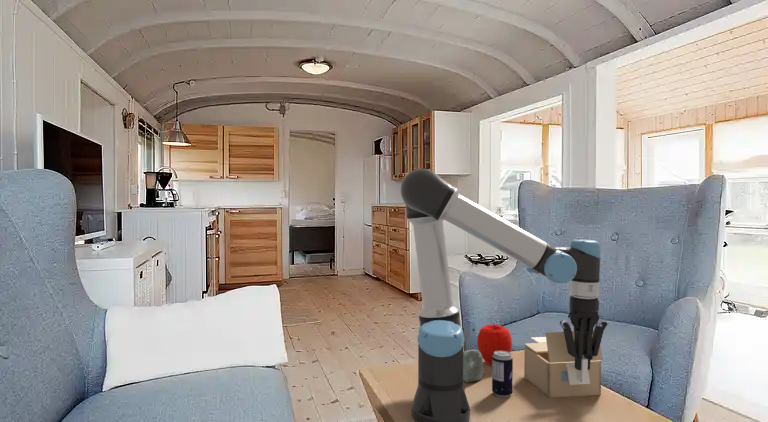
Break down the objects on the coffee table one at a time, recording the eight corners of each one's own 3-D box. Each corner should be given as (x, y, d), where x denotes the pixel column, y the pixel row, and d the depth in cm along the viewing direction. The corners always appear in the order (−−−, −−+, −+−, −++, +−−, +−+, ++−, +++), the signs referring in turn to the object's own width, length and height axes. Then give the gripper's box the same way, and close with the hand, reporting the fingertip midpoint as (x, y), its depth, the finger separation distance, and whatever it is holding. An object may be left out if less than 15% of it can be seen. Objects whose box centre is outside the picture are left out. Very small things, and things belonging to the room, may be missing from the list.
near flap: (552, 385, 134) (553, 385, 134) (545, 332, 139) (545, 332, 138) (605, 382, 137) (606, 382, 136) (596, 330, 141) (597, 330, 141)
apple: (518, 368, 161) (519, 328, 160) (486, 371, 158) (486, 330, 158) (502, 357, 172) (502, 319, 172) (471, 359, 170) (471, 321, 169)
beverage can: (512, 399, 136) (513, 356, 136) (492, 397, 137) (492, 355, 137) (511, 391, 142) (512, 350, 141) (491, 389, 143) (492, 349, 142)
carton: (548, 398, 137) (548, 363, 137) (524, 377, 153) (524, 346, 153) (600, 395, 139) (601, 361, 139) (571, 374, 155) (572, 344, 155)
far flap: (536, 353, 145) (536, 351, 145) (516, 339, 159) (516, 337, 159) (585, 351, 147) (585, 349, 147) (561, 337, 161) (561, 336, 161)
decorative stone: (490, 385, 146) (492, 353, 152) (458, 374, 144) (462, 342, 150) (469, 392, 157) (471, 362, 162) (439, 382, 154) (443, 352, 160)
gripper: (568, 299, 128) (566, 387, 129) (614, 298, 130) (612, 385, 131) (555, 293, 136) (553, 376, 136) (598, 293, 137) (596, 375, 138)
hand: (581, 381), depth 134 cm, fingers closed
